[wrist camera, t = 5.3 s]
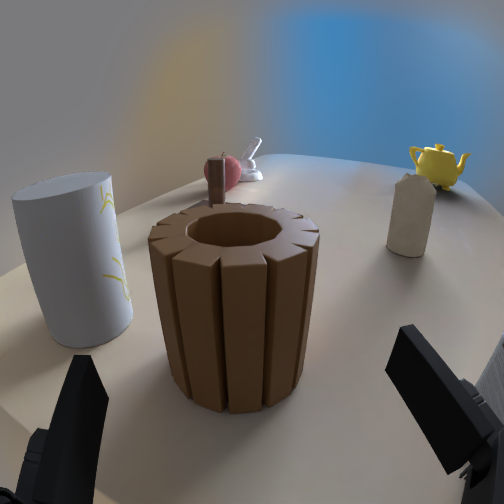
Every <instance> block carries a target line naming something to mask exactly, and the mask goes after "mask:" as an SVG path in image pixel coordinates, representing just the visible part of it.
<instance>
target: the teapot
mask: <svg viewBox="0 0 504 504" xmlns="http://www.w3.org/2000/svg"><path fill="white" fill-rule="evenodd" d="M435 146H436V149H434V148H429V147H425V148H424V150H423V149H421V148H417V147H411V148H410V150H409V152H410V155H411V158H412V160H413V161H414V163H415V165H416V173H417V175H420V176H426V177H427V178H428V180H429V181H430V182H431V184H432V183H435V184H438V185H440V186H442V189H444V190H447V191H450V188H449V186H453V185H454V184H455V183H456V182H457V177H458V176H459V175H461V174H462V172H463V170H464V166H465V161H466V159H467V157H468V156H469V155H471V153H469V154H468V153H465V154H463V156H462V158H461V161H460V163H459V165H458V166H457V164H456V160H455V156H454V154H453V153H451V152H448V151H444V150H443V148H444V145H441V144H435ZM416 151H420V152H422V153H421V155H420V157H419V159H418V162H417V160H416V156H415V152H416Z"/></svg>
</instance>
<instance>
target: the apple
mask: <svg viewBox="0 0 504 504" xmlns="http://www.w3.org/2000/svg"><path fill="white" fill-rule="evenodd" d="M223 154H224V152H223ZM223 154H222V155H221V156H215V157H212V158H224V159H225V191H227V190H229V189H231V188H233V187H234V186H235V185H236V184H237V183H238V181H239V179H240V177H241V165H240V163H239V162H238V161H237V159H235V158H234V157H232V156H228V155H223ZM204 174H205V178H206V180H207V182H208V162H206V164H205V166H204Z"/></svg>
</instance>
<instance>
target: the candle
mask: <svg viewBox="0 0 504 504" xmlns="http://www.w3.org/2000/svg"><path fill="white" fill-rule="evenodd" d="M435 197H436V190H435V188H434V187H433V185H432V184H431V182H430V181H429V180H428V178H427V177H426V176H420V175H416V174H414V175H410V174H408V173H406V174H405V175H404V176H403V177H402V178H401V179H400V180H398V181H397V182H396V184H395V192H394V199H393V206H392V213H391V220H390V226H389V232H388V238H387V247H388V248H389V249H390V250H391V251H393V252H394V253H397V254H399V255H403V256H407V257H419V256H422V255H423V254H424V252H425V248H426V244H427V239H428V234H429V230H430V225H431V219H432V214H433V209H434V203H435Z"/></svg>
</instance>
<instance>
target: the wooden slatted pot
mask: <svg viewBox="0 0 504 504" xmlns="http://www.w3.org/2000/svg"><path fill="white" fill-rule="evenodd" d="M319 239H320V233H319V229H318V228H317V227H316V226H315V225H314V224H313V223H312V222H311V221H310V220H309V219H308V218H303V215H300V214H297V213H294V212H291V211H289V210H286V209H283V208H281V209H277V210H275V207H273V206H265V205H257V204H247V205H246V206H244V207H242V205H241V203H230V204H213V208H210V207H208V206H206V205H204V206H200V207H195V208H191V209H186V210H182V211H180V214H175V213H174V214H172V215H170V216H168V217H166V218H165V219H163V220H161V221H159V222H157V226H152V229H151V232H150V234H149V237H148V245H149V252H150V260H151V267H152V273H153V280H154V286H155V292H156V298H157V304H158V309H159V315H160V320H161V326H162V331H163V336H164V341H165V346H166V350H167V355H168V360H169V364H170V369H171V373H172V376H173V378H174V382H175V383H176V384H177V386H178V387H179V388H180V389H181V391H182V392H183V393H184V394H185V396H186V397H187V398H188V399H189V398H191V397H193V400H194V403H195V404H197V405H200V406H203V407H205V408H208V409H211V410H214V411H217V412H219V413H222V412H223V410H224V408H225V407H226V405H227V403H228V405H229V412H230V414H236V413H246V412H255V411H261V402H263V403H264V404H265V405H266V406H267V407H268V408H270V407H271V406H273V405H274V404H276V403H278V402H279V401H281V400H282V399H284V398H285V397H287V396H288V395H290V394H291V390H292V388H294V389H295V388H296V386H297V383H298V381H299V378H300V375H301V373H302V370H303V364H304V358H305V351H306V345H307V338H308V331H309V324H310V316H311V309H312V301H313V293H314V285H315V276H316V268H317V258H318V249H319Z"/></svg>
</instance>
